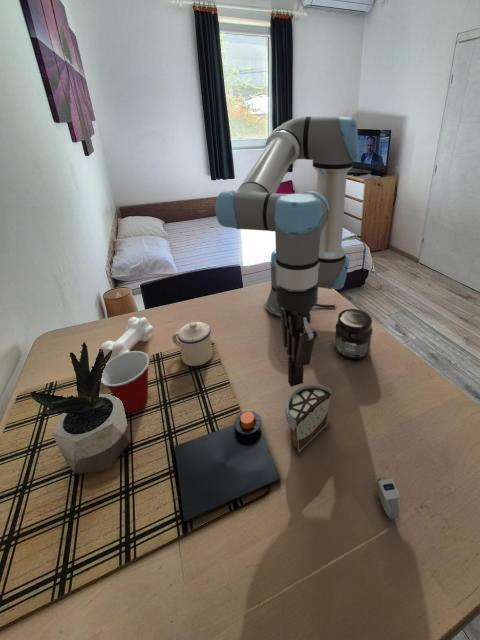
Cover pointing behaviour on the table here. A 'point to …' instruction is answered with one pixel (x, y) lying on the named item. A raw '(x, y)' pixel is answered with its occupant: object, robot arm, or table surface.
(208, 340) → the teacup with lid
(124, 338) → the bone shaped toy
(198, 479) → the scale
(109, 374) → the plastic cup
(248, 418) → the tare button
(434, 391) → the table surface
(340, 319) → the supplement container
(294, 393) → the slice of cake
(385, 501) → the wristwatch
